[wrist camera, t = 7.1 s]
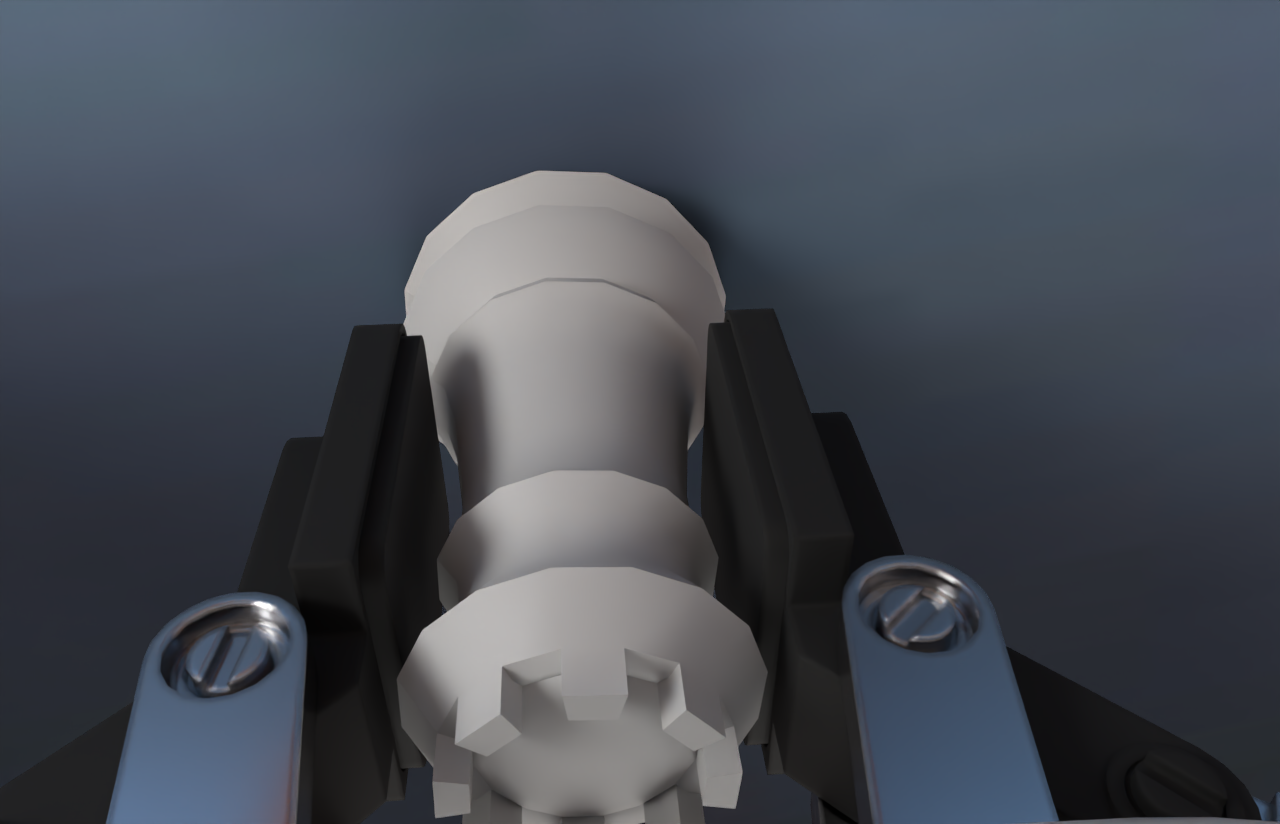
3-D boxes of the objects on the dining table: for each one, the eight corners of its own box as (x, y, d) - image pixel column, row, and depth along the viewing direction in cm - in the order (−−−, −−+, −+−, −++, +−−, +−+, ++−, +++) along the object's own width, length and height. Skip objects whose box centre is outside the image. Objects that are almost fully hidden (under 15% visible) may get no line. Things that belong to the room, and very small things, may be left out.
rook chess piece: (387, 401, 16) (283, 923, 9) (432, 119, 13) (333, 560, 7) (672, 449, 17) (758, 951, 10) (763, 193, 14) (953, 642, 8)
